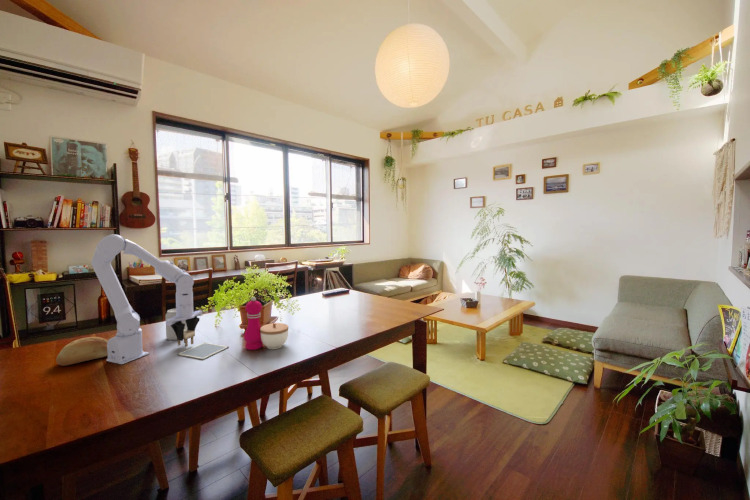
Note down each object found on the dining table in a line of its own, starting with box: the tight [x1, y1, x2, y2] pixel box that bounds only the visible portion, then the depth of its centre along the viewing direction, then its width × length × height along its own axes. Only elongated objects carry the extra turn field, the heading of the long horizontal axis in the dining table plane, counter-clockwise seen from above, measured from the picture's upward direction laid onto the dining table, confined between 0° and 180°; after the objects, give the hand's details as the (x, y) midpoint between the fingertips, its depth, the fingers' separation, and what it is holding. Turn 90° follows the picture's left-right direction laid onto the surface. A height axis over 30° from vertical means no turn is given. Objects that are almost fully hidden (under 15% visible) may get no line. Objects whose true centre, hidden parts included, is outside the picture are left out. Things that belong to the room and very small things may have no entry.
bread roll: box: [55, 336, 109, 367], centre depth 110 cm, size 10×15×8 cm, turn 136°
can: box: [164, 308, 187, 341], centre depth 132 cm, size 8×8×12 cm
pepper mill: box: [243, 296, 263, 351], centre depth 124 cm, size 7×7×20 cm
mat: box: [177, 342, 229, 361], centre depth 119 cm, size 12×12×1 cm
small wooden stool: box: [176, 330, 196, 347], centre depth 123 cm, size 5×4×5 cm
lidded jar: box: [260, 322, 289, 350], centre depth 125 cm, size 11×11×9 cm
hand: (185, 338), depth 123 cm, fingers closed on small wooden stool, 4 cm apart
